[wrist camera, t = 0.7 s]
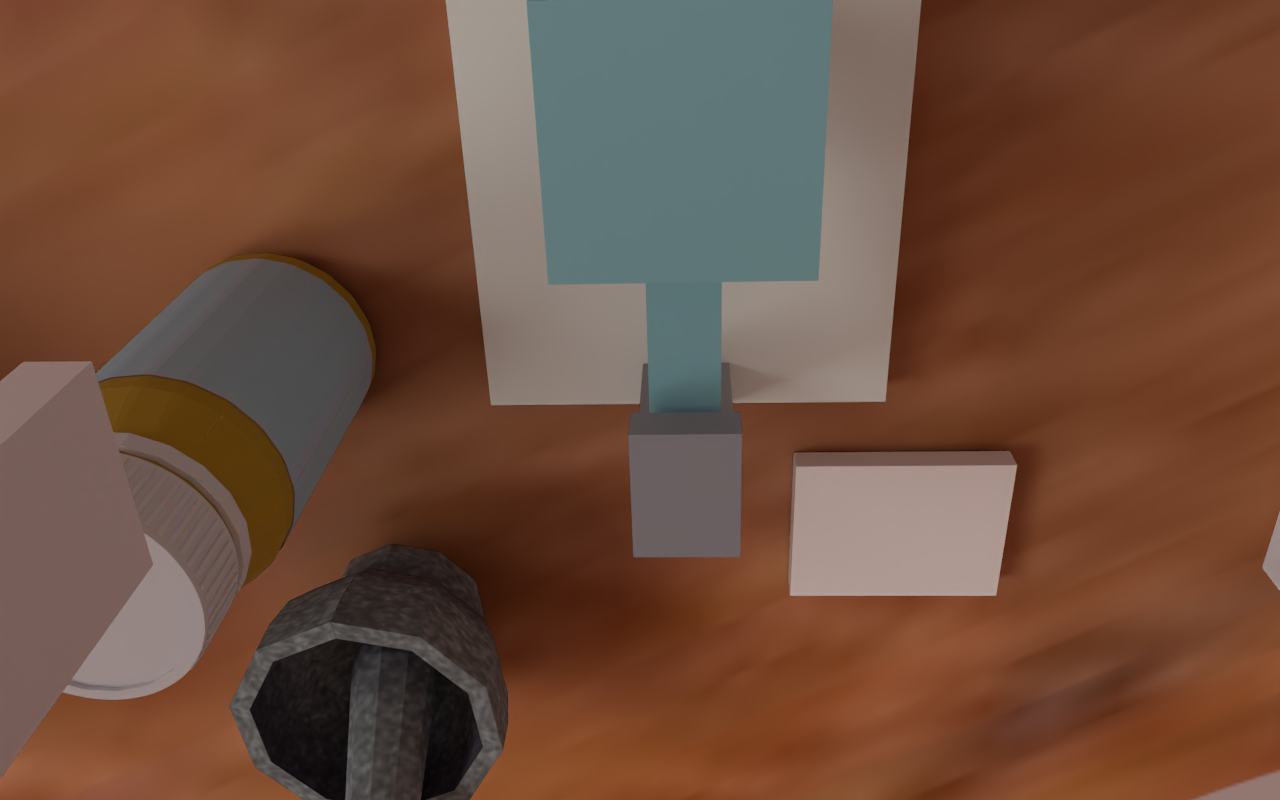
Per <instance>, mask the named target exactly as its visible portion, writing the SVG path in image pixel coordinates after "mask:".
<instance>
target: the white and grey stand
mask: <svg viewBox="0 0 1280 800" xmlns="http://www.w3.org/2000/svg"><path fill="white" fill-rule="evenodd" d="M526 1H527V0H446V6H447V15H448V24H449V33H450V42H451V51H452V60H453V69H454V78H455V87H456V96H457V105H458V114H459V123H460V132H461V141H462V150H463V159H464V168H465V177H466V186H467V195H468V204H469V213H470V222H471V231H472V240H473V249H474V258H475V267H476V276H477V285H478V294H479V303H480V312H481V321H482V330H483V339H484V348H485V357H486V366H487V375H488V384H489V393H490V402H491V405H570V404H640V407H639V413H630V422H629V432H628V441H629V465H630V489H631V512H632V536H633V557H740V535H741V477H742V426H741V415H740V412H733V404H732V403H791V402H885V401H886V390H887V379H888V367H889V356H890V345H891V334H892V323H893V312H894V300H895V289H896V278H897V267H898V256H899V245H900V234H901V222H902V211H903V200H904V189H905V178H906V167H907V155H908V144H909V133H910V122H911V111H912V100H913V89H914V77H915V66H916V55H917V44H918V33H919V22H920V10H921V0H833V13H832V32H831V51H830V70H829V90H828V109H827V128H826V147H825V166H824V185H823V204H822V223H821V242H820V261H819V280H818V281H760V282H722V333H721V412H665V413H649V381H648V348H647V315H646V283H624V284H556V285H548V274H547V261H546V249H545V236H544V223H543V210H542V197H541V184H540V171H539V158H538V145H537V132H536V119H535V106H534V93H533V80H532V67H531V54H530V41H529V28H528V15H527V2H526Z"/></svg>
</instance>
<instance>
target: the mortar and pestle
mask: <svg viewBox="0 0 1280 800" xmlns="http://www.w3.org/2000/svg"><path fill="white" fill-rule="evenodd" d="M484 618H485V616H484V612H483V608H482V604H481V601H480V597H479V593H478V589H477V585H476V581H475V580H474V579H473V578H472V577H470V576H469V575H468V574H467V573H465V572H464V571H463V570H462V569H460V568H459V567H458V566H457V565H455V564H454V563H453V562H452V561H450V560H449V559H448V558H447V557H445V556H444V555H443V554H442V553H440V552H437V551H431V550H425V549H419V548H413V547H407V546H401V545H395V544H390V545H388V546H385V547H383V548H380V549H378V550H375V551H373V552H370V553H368V554H365V555H362V556H360V557H357V558H355V559H352V560H351V562H350V564H349V566H348V568H347V570H346V572H345V574H344V576H343V578H341V579H339V580H336V581H334V582H331V583H329V584H326V585H323V586H321V587H318V588H316V589H313V590H311V591H309V592H307V593H305V594H303V595H301V596H299V597H296V598H294V599H292V600H290V601H289V602H288V603H287V604H286V605H285V606H284V608H283V609H282V610H281V611H280V613H279V614H278V615H277V616H276V617H275V619H274V620H273V621H272V622H271V623H270V625H269V627H268V629H267V631H266V633H265V634H264V636H263V638H262V640H261V642H260V644H259V646H258V648H257V650H256V652H255V654H254V656H253V658H252V660H251V662H250V665H249V667H248V669H247V671H246V673H245V675H244V677H243V679H242V681H241V683H240V685H239V687H238V689H237V692H236V694H235V696H234V698H233V700H232V702H231V704H230V706H229V707H230V709H231V712H232V714H233V716H234V719H235V721H236V724H237V726H238V728H239V731H240V733H241V735H242V738H243V740H244V742H245V745H246V747H247V749H248V752H249V754H250V757H251V759H252V761H253V764H254V766H255V768H257V769H258V770H260V771H261V772H263V773H264V774H266V775H267V776H269V777H270V778H272V779H273V780H275V781H276V782H278V783H279V784H281V785H282V786H284V787H285V788H287V789H288V790H290V791H291V792H293V793H294V794H296V795H297V796H299V797H300V798H302V799H303V800H470V798H471V797H472V795H473V794H474V792H475V791H476V789H477V788H478V786H479V785H480V783H481V782H482V780H483V779H484V777H485V776H486V774H487V773H488V771H489V770H490V768H491V767H492V765H493V764H494V762H495V761H496V759H497V758H498V757H499V755H500V754H501V752H502V751H503V746H504V741H505V736H506V731H507V726H508V692H507V688H506V684H505V680H504V677H503V673H502V669H501V665H500V661H499V657H498V653H497V649H496V645H495V641H494V638H493V634H492V632H491V631H490V629H489V627H488V625H487V623H486V622H485V620H484Z"/></svg>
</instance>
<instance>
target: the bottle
mask: <svg viewBox="0 0 1280 800" xmlns="http://www.w3.org/2000/svg"><path fill="white" fill-rule="evenodd" d="M375 362H376V346H375V342H374V338H373V335H372V331H371V327H370V324H369V322H368V320H367V318H366V316H365V315H364V313H363V311H362V310H361V308H360V307H359V305H358V304H357V302H356V300H355V299H354V298H353V297H352V295H351V294H350V293H349V292H348V291H347V290H346V289H345V288H343V287H342V286H341V285H340V284H339V283H338V282H337V281H336V280H334V279H333V278H332V277H331V276H330V275H328V274H327V273H325V272H324V271H322V270H320V269H318V268H316V267H314V266H312V265H310V264H308V263H306V262H304V261H301V260H298V259H295V258H292V257H287V256H281V255H276V254H271V253H256V254H247V255H238V256H235V257H231V258H229V259H227V260H225V261H223V262H221V263H219V264H216V265H214V266H212V267H211V268H209V269H208V270H207V271H206V272H204V273H203V274H202V275H200V276H199V277H198V278H197V279H196V280H195V281H193V282H192V283H191V284H190V285H189V286H188V287H187V288H186V289H185V290H184V291H183V292H182V293H181V294H180V295H179V296H178V297H176V298H175V299H174V300H173V301H172V302H171V303H170V304H169V305H168V306H167V307H166V308H165V309H164V310H163V311H162V312H161V313H160V314H158V315H157V316H156V317H155V318H154V319H153V320H152V321H151V322H150V323H149V324H148V325H147V326H146V327H145V328H144V329H143V330H141V331H140V332H139V333H138V334H137V335H136V336H135V337H134V338H133V339H132V340H131V341H130V342H129V343H128V344H127V345H126V346H124V347H123V348H122V349H121V350H120V351H119V352H118V353H117V354H116V355H115V356H114V357H113V358H112V359H111V360H110V361H109V362H107V363H106V364H105V365H104V366H103V367H102V368H101V369H100V370H99V371H98V372H97V373H96V377H97V380H98V383H99V387H100V390H101V393H102V397H103V400H104V403H105V406H106V410H107V413H108V416H109V420H110V423H111V426H112V430H113V433H114V436H115V440H116V443H117V446H118V450H119V453H120V456H121V459H122V463H123V466H124V469H125V473H126V476H127V479H128V483H129V486H130V489H131V493H132V496H133V499H134V502H135V506H136V509H137V512H138V516H139V519H140V522H141V526H142V529H143V532H144V536H145V539H146V542H147V546H148V549H149V552H150V555H151V559H152V562H153V566H152V567H151V569H150V570H149V571H148V573H147V574H146V576H145V577H144V579H143V580H142V581H141V583H140V584H139V586H138V587H137V588H136V590H135V591H134V593H133V594H132V595H131V597H130V598H129V600H128V601H127V602H126V604H125V605H124V607H123V608H122V609H121V611H120V612H119V614H118V615H117V616H116V618H115V619H114V621H113V622H112V623H111V625H110V626H109V628H108V629H107V630H106V632H105V633H104V635H103V636H102V637H101V639H100V640H99V642H98V643H97V644H96V646H95V647H94V649H93V650H92V651H91V653H90V654H89V656H88V657H87V658H86V660H85V661H84V663H83V664H82V665H81V667H80V668H79V670H78V671H77V672H76V674H75V675H74V677H73V678H72V679H71V681H70V682H69V684H68V685H67V686H66V688H65V689H64V691H63V692H64V693H67V694H71V695H75V696H80V697H86V698H93V699H106V700H119V699H130V698H137V697H142V696H146V695H149V694H153V693H155V692H158V691H160V690H163V689H165V688H167V687H169V686H170V685H172V684H174V683H175V682H177V681H178V680H179V679H181V678H182V677H183V676H184V675H186V673H187V672H188V671H189V670H191V669H192V668H193V667H194V666H195V664H196V662H198V661H199V660H200V658H201V657H202V655H203V653H204V652H205V650H206V648H207V647H208V645H209V643H210V641H211V640H212V638H213V636H214V634H215V633H216V631H217V629H218V627H219V626H220V624H221V622H222V621H223V619H224V617H225V615H226V614H227V612H228V610H229V608H230V607H231V605H232V601H233V599H234V597H235V596H236V594H237V593H238V591H239V590H240V588H242V587H243V586H245V585H246V584H248V583H249V582H251V581H252V580H253V579H255V578H256V577H257V576H258V575H259V574H260V573H261V572H263V571H264V570H265V569H266V568H267V567H268V566H269V565H270V564H271V563H272V562H273V560H274V559H275V557H276V555H277V554H278V552H279V551H280V549H281V548H282V547H283V545H284V543H285V541H286V539H287V538H288V536H289V534H290V532H291V530H292V529H293V527H294V525H295V523H296V521H297V520H298V518H299V516H300V514H301V512H302V511H303V509H304V507H305V505H306V503H307V501H308V500H309V498H310V496H311V494H312V492H313V491H314V489H315V487H316V485H317V483H318V482H319V480H320V478H321V476H322V474H323V473H324V471H325V469H326V467H327V465H328V464H329V462H330V460H331V458H332V456H333V454H334V453H335V451H336V449H337V447H338V445H339V444H340V442H341V440H342V438H343V436H344V435H345V433H346V431H347V429H348V427H349V426H350V424H351V422H352V420H353V418H354V417H355V415H356V413H357V411H358V409H359V407H360V406H361V404H362V402H363V400H364V397H365V395H366V393H367V391H368V389H369V386H370V384H371V382H372V380H373V377H374V373H375Z"/></svg>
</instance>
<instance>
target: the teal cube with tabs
mask: <svg viewBox="0 0 1280 800" xmlns="http://www.w3.org/2000/svg"><path fill="white" fill-rule="evenodd" d="M526 2H527V15H528V28H529V41H530V54H531V67H532V80H533V93H534V106H535V119H536V132H537V145H538V158H539V171H540V184H541V197H542V210H543V223H544V236H545V249H546V261H547V274H548V285H556V284H624V283H646V315H647V348H648V381H649V413H665V412H721V333H722V282H760V281H818V280H819V261H820V242H821V223H822V204H823V185H824V166H825V147H826V128H827V109H828V90H829V70H830V51H831V32H832V13H833V0H527V1H526Z"/></svg>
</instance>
